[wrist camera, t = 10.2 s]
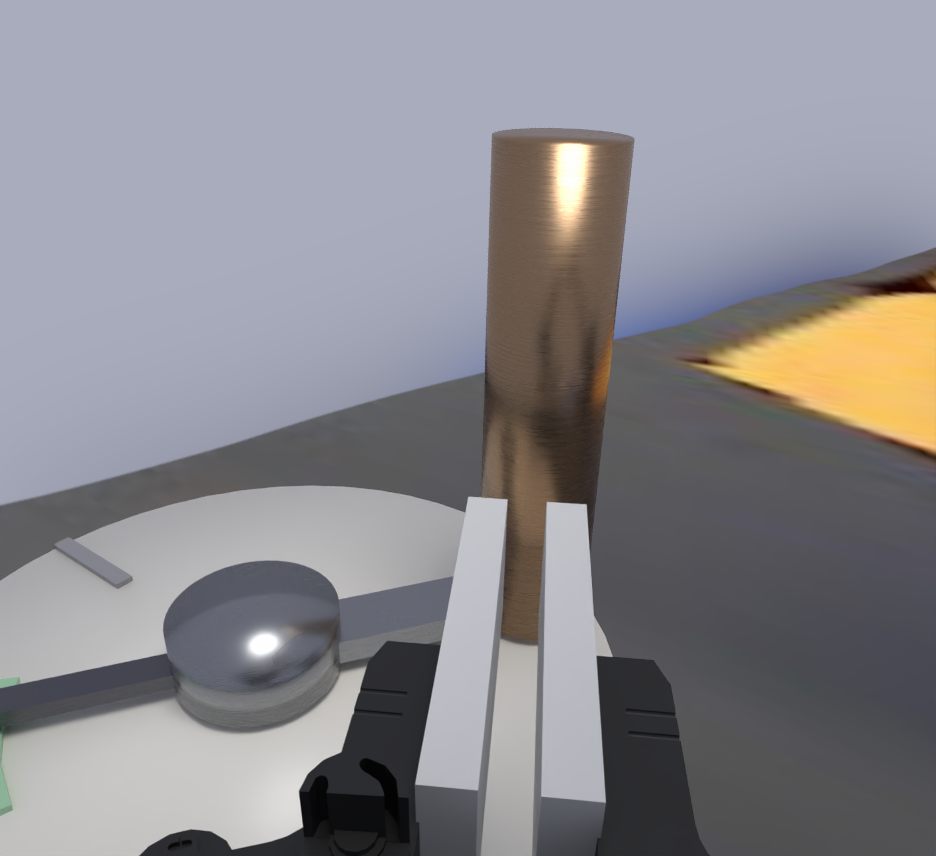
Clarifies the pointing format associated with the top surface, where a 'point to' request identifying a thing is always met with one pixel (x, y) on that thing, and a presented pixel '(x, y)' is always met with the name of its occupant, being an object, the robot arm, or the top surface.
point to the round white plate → (161, 714)
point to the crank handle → (503, 463)
